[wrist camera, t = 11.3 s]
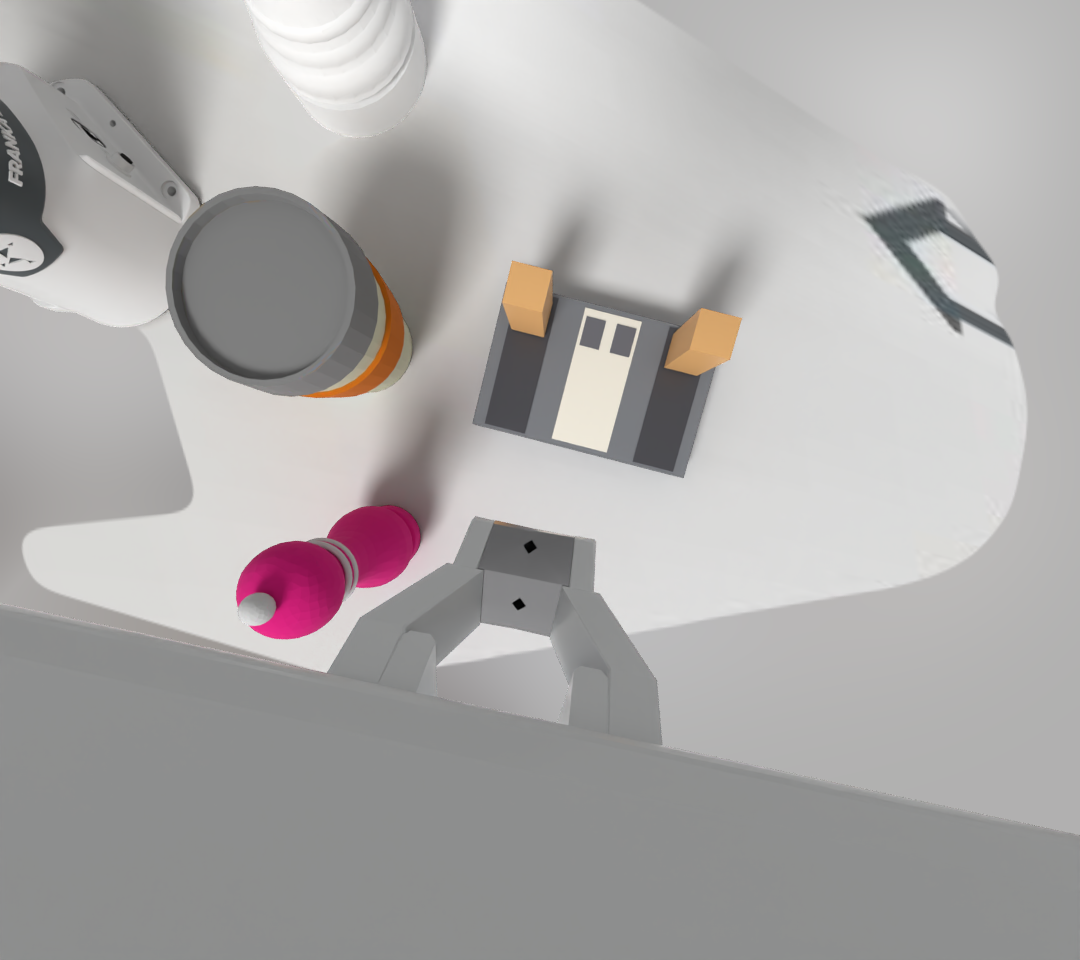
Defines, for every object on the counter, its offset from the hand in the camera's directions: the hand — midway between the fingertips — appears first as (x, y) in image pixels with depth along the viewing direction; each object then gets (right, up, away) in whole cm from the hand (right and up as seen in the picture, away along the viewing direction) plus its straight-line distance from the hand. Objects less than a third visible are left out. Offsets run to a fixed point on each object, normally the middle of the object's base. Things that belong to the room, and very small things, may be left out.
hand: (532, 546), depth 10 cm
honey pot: (-17, +40, +29) cm, 52 cm away
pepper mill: (-15, -4, +32) cm, 36 cm away
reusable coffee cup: (-17, +15, +31) cm, 38 cm away
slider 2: (+13, +13, +27) cm, 32 cm away
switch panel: (+5, +11, +30) cm, 32 cm away
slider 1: (0, +16, +27) cm, 31 cm away
